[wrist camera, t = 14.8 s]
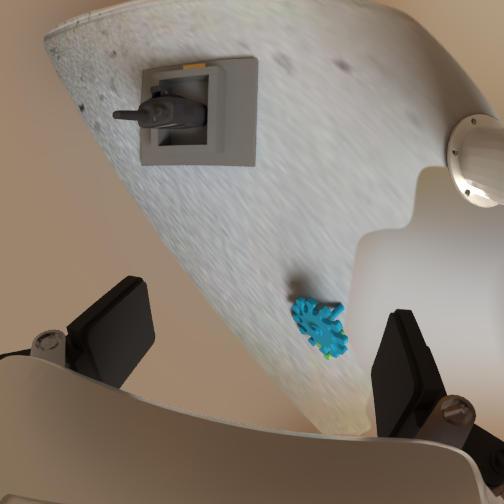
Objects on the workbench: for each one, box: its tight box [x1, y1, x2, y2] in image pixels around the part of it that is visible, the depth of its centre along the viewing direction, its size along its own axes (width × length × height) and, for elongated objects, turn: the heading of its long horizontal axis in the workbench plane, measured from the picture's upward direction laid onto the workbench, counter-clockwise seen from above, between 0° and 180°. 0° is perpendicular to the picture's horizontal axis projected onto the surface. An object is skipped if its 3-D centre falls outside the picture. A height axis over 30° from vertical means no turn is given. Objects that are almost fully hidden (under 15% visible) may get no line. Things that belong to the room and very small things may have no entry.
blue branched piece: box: [291, 297, 348, 360], centre depth 40 cm, size 11×6×10 cm
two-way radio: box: [113, 86, 208, 130], centre depth 27 cm, size 6×4×15 cm
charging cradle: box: [141, 58, 258, 167], centre depth 33 cm, size 16×14×4 cm
